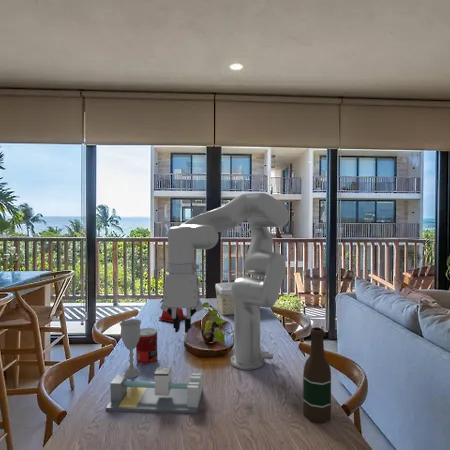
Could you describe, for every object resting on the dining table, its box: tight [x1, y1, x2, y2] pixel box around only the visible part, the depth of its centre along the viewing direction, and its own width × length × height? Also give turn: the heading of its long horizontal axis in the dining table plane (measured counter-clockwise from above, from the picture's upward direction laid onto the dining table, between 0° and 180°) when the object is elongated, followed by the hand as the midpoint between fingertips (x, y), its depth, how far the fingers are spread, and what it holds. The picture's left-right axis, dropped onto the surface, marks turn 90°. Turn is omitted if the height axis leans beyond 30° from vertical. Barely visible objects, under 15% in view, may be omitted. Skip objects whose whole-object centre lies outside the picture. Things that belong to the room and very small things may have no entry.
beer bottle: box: [302, 326, 332, 424], centre depth 90 cm, size 8×8×24 cm
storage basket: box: [214, 282, 261, 316], centre depth 186 cm, size 24×16×15 cm
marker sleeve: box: [153, 366, 172, 396], centre depth 98 cm, size 4×4×6 cm
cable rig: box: [105, 372, 204, 414], centre depth 99 cm, size 26×12×6 cm, turn 86°
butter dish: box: [158, 308, 186, 323], centre depth 173 cm, size 12×12×8 cm
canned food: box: [135, 327, 158, 365], centre depth 125 cm, size 8×8×11 cm
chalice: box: [119, 319, 142, 379], centre depth 114 cm, size 7×7×18 cm
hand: (182, 330), depth 97 cm, fingers closed
